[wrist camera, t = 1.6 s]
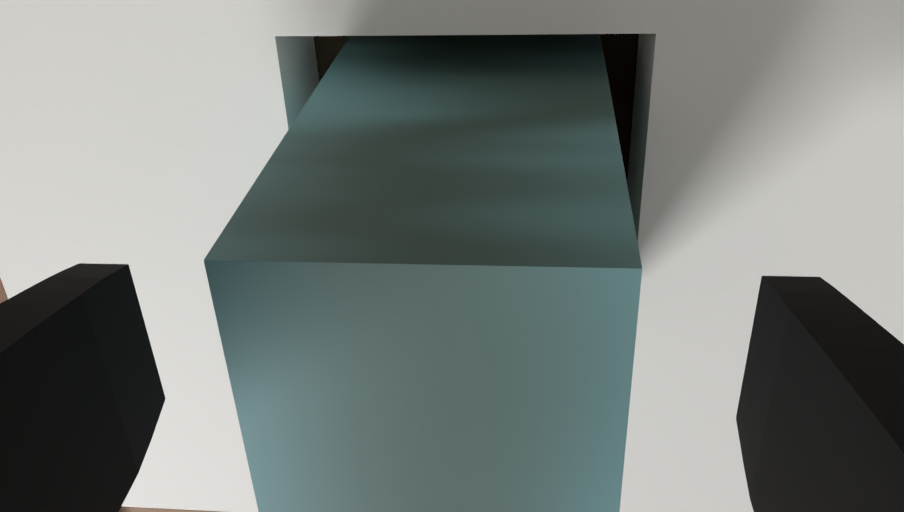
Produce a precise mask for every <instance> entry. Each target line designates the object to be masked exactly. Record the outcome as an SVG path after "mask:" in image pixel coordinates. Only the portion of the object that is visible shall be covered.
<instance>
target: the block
mask: <svg viewBox="0 0 904 512" xmlns="http://www.w3.org/2000/svg"><path fill="white" fill-rule="evenodd" d="M204 265H205V269H206V274H207V278H208V283H209V288H210V292H211V297H212V301H213V306H214V310H215V315H216V320H217V324H218V329H219V333H220V338H221V342H222V347H223V351H224V356H225V361H226V365H227V370H228V374H229V379H230V383H231V388H232V393H233V397H234V402H235V406H236V411H237V415H238V420H239V425H240V429H241V434H242V438H243V443H244V447H245V452H246V456H247V461H248V466H249V470H250V475H251V479H252V484H253V488H254V493H255V498H256V502H257V507H258V511H259V512H619V511H620V501H621V490H622V479H623V469H624V458H625V448H626V437H627V426H628V416H629V405H630V394H631V384H632V373H633V362H634V352H635V341H636V330H637V320H638V309H639V298H640V288H641V277H642V264H641V259H640V253H639V248H638V242H637V236H636V231H635V225H634V220H633V214H632V209H631V203H630V198H629V192H628V186H627V181H626V175H625V170H624V164H623V159H622V153H621V147H620V142H619V136H618V131H617V125H616V120H615V114H614V109H613V103H612V97H611V92H610V86H609V81H608V75H607V70H606V64H605V58H604V53H603V47H602V42H601V36H600V34H531V35H396V36H349V38H348V39H347V41H346V42H345V44H344V45H343V47H342V48H341V50H340V52H339V53H338V55H337V56H336V58H335V59H334V61H333V62H332V64H331V65H330V67H329V68H328V70H327V71H326V73H325V75H324V76H323V78H322V79H321V81H320V82H319V84H318V85H317V87H316V88H315V90H314V91H313V93H312V95H311V96H310V98H309V99H308V101H307V102H306V104H305V105H304V107H303V108H302V110H301V111H300V113H299V114H298V116H297V118H296V119H295V121H294V122H293V124H292V125H291V127H290V128H289V130H288V131H287V133H286V134H285V136H284V137H283V139H282V141H281V142H280V144H279V145H278V147H277V148H276V150H275V151H274V153H273V154H272V156H271V157H270V159H269V161H268V162H267V164H266V165H265V167H264V168H263V170H262V171H261V173H260V174H259V176H258V177H257V179H256V180H255V182H254V184H253V185H252V187H251V188H250V190H249V191H248V193H247V194H246V196H245V197H244V199H243V200H242V202H241V203H240V205H239V207H238V208H237V210H236V211H235V213H234V214H233V216H232V217H231V219H230V220H229V222H228V223H227V225H226V226H225V228H224V230H223V231H222V233H221V234H220V236H219V237H218V239H217V240H216V242H215V243H214V245H213V246H212V248H211V250H210V251H209V253H208V254H207V256H206V257H205V259H204Z"/></svg>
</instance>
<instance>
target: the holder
mask: <svg viewBox="0 0 904 512" xmlns="http://www.w3.org/2000/svg"><path fill="white" fill-rule="evenodd" d="M531 34H639V38H638V51H637V64H636V76H635V89H634V102H633V115H632V128H631V140H630V153H629V166H628V179H627V186H628V192H629V198H630V203H631V209H632V214H633V220H634V225H635V231H636V236H637V242H638V248H639V253H640V259H641V264H642V277H641V288H640V298H639V309H638V320H637V330H636V341H635V352H634V362H633V373H632V384H631V394H630V405H629V416H628V426H627V437H626V448H625V458H624V469H623V479H622V490H621V501H620V511H619V512H754V511H753V507H752V504H751V501H750V496H749V491H748V486H747V480H746V475H745V470H744V464H743V458H742V452H741V446H740V440H739V434H738V428H737V422H736V415H737V409H738V404H739V398H740V393H741V387H742V382H743V376H744V371H745V365H746V360H747V354H748V349H749V343H750V338H751V332H752V327H753V321H754V316H755V310H756V305H757V299H758V294H759V288H760V283H761V277H762V276H803V277H821V278H822V279H824V280H825V281H826V282H828V283H829V284H830V285H832V286H833V287H834V288H836V289H837V290H838V291H839V292H841V293H842V294H843V295H844V296H846V297H847V298H848V299H849V300H851V301H852V302H853V303H854V304H856V305H857V306H858V307H859V308H860V309H862V310H863V311H864V312H865V313H866V314H868V315H869V316H870V317H871V318H872V319H874V320H875V321H876V322H877V323H878V324H880V325H881V326H882V327H883V328H884V329H886V330H887V331H888V332H889V333H891V334H892V335H893V336H894V337H895V338H897V339H898V340H899V341H900V342H901V343H903V344H904V0H0V278H1V280H2V283H3V286H4V288H5V291H6V294H7V297H8V299H10V298H11V297H13V296H15V295H17V294H19V293H20V292H22V291H24V290H26V289H28V288H30V287H31V286H33V285H35V284H37V283H39V282H41V281H43V280H45V279H47V278H49V277H50V276H52V275H55V274H57V273H59V272H61V271H63V270H65V269H67V268H70V267H72V266H74V265H77V264H79V263H87V264H129V268H130V272H131V275H132V279H133V282H134V286H135V290H136V293H137V297H138V301H139V304H140V308H141V311H142V315H143V319H144V322H145V326H146V330H147V333H148V337H149V340H150V344H151V348H152V351H153V355H154V359H155V362H156V366H157V369H158V373H159V377H160V380H161V384H162V387H163V391H164V395H165V398H166V399H165V402H164V405H163V408H162V410H161V413H160V416H159V419H158V422H157V425H156V428H155V431H154V434H153V437H152V439H151V442H150V445H149V447H148V450H147V452H146V455H145V458H144V460H143V463H142V465H141V468H140V470H139V473H138V475H137V477H136V479H135V481H134V483H133V485H132V487H131V489H130V491H129V493H128V494H127V496H126V498H125V500H124V502H123V504H122V506H125V507H146V508H166V509H186V510H206V511H227V512H259V511H258V507H257V502H256V498H255V493H254V488H253V484H252V479H251V475H250V470H249V466H248V461H247V456H246V452H245V447H244V443H243V438H242V434H241V429H240V425H239V420H238V415H237V411H236V406H235V402H234V397H233V393H232V388H231V383H230V379H229V374H228V370H227V365H226V361H225V356H224V351H223V347H222V342H221V338H220V333H219V329H218V324H217V320H216V315H215V310H214V306H213V301H212V297H211V292H210V288H209V283H208V278H207V274H206V269H205V265H204V259H205V257H206V256H207V254H208V253H209V251H210V250H211V248H212V246H213V245H214V243H215V242H216V240H217V239H218V237H219V236H220V234H221V233H222V231H223V230H224V228H225V226H226V225H227V223H228V222H229V220H230V219H231V217H232V216H233V214H234V213H235V211H236V210H237V208H238V207H239V205H240V203H241V202H242V200H243V199H244V197H245V196H246V194H247V193H248V191H249V190H250V188H251V187H252V185H253V184H254V182H255V180H256V179H257V177H258V176H259V174H260V173H261V171H262V170H263V168H264V167H265V165H266V164H267V162H268V161H269V159H270V157H271V156H272V154H273V153H274V151H275V150H276V148H277V147H278V145H279V144H280V142H281V141H282V139H283V137H284V136H285V134H286V133H287V131H288V130H289V128H290V127H291V125H292V124H293V122H294V121H295V119H296V118H297V116H298V114H299V113H300V111H301V110H302V108H303V107H304V105H305V104H306V102H307V101H308V99H309V98H310V96H311V95H312V93H313V91H314V90H315V88H316V87H317V85H318V84H319V77H318V68H317V60H316V52H315V44H314V36H396V35H531Z"/></svg>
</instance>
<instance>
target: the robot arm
mask: <svg viewBox="0 0 904 512" xmlns="http://www.w3.org/2000/svg"><path fill="white" fill-rule="evenodd" d="M165 399H166V398H165V395H164V391H163V387H162V384H161V380H160V377H159V373H158V369H157V366H156V362H155V359H154V355H153V351H152V348H151V344H150V340H149V337H148V333H147V330H146V326H145V322H144V319H143V315H142V311H141V308H140V304H139V301H138V297H137V293H136V290H135V286H134V282H133V279H132V275H131V272H130V268H129V264H87V263H79V264H77V265H74V266H72V267H70V268H67V269H65V270H63V271H61V272H59V273H57V274H55V275H52V276H50V277H49V278H47V279H45V280H43V281H41V282H39V283H37V284H35V285H33V286H31V287H30V288H28V289H26V290H24V291H22V292H20V293H19V294H17V295H15V296H13V297H11V298H10V299H8V300H6V301H4V302H2V303H1V304H0V512H118V511H119V510H120V508H121V506H122V504H123V502H124V500H125V498H126V496H127V494H128V493H129V491H130V489H131V487H132V485H133V483H134V481H135V479H136V477H137V475H138V473H139V470H140V468H141V465H142V463H143V460H144V458H145V455H146V452H147V450H148V447H149V445H150V442H151V439H152V437H153V434H154V431H155V428H156V425H157V422H158V419H159V416H160V413H161V410H162V408H163V405H164V402H165ZM736 422H737V428H738V434H739V440H740V446H741V452H742V458H743V464H744V470H745V475H746V480H747V486H748V491H749V496H750V501H751V504H752V507H753V511H754V512H904V344H903V343H901V342H900V341H899V340H898V339H897V338H895V337H894V336H893V335H892V334H891V333H889V332H888V331H887V330H886V329H884V328H883V327H882V326H881V325H880V324H878V323H877V322H876V321H875V320H874V319H872V318H871V317H870V316H869V315H868V314H866V313H865V312H864V311H863V310H862V309H860V308H859V307H858V306H857V305H856V304H854V303H853V302H852V301H851V300H849V299H848V298H847V297H846V296H844V295H843V294H842V293H841V292H839V291H838V290H837V289H836V288H834V287H833V286H832V285H830V284H829V283H828V282H826V281H825V280H824V279H822V278H821V277H803V276H762V277H761V283H760V288H759V294H758V299H757V305H756V310H755V316H754V321H753V327H752V332H751V338H750V343H749V349H748V354H747V360H746V365H745V371H744V376H743V382H742V387H741V393H740V398H739V404H738V409H737V415H736Z"/></svg>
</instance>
